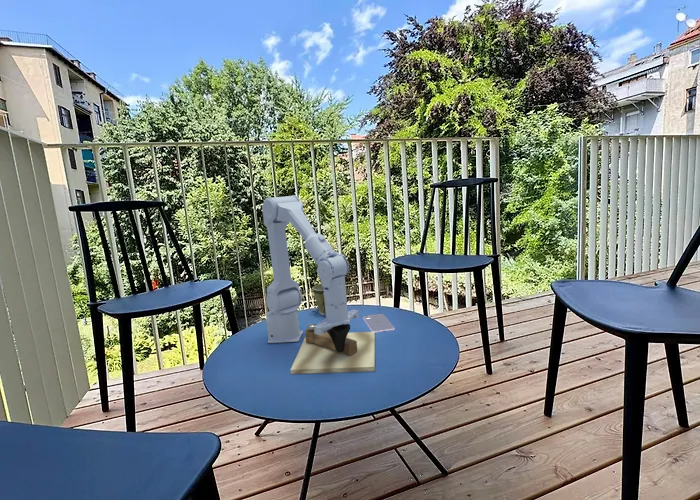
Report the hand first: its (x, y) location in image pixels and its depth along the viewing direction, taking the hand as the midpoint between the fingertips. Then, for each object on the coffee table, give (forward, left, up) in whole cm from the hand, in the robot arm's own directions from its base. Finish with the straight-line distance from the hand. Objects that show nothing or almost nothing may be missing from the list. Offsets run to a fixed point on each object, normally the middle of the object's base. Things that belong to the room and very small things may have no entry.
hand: (339, 351), depth 98 cm
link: (-4, +6, -1) cm, 7 cm away
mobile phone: (+10, +25, -3) cm, 27 cm away
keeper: (-5, +11, -1) cm, 13 cm away
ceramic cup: (-8, +36, -3) cm, 37 cm away
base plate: (-1, +4, -3) cm, 5 cm away
